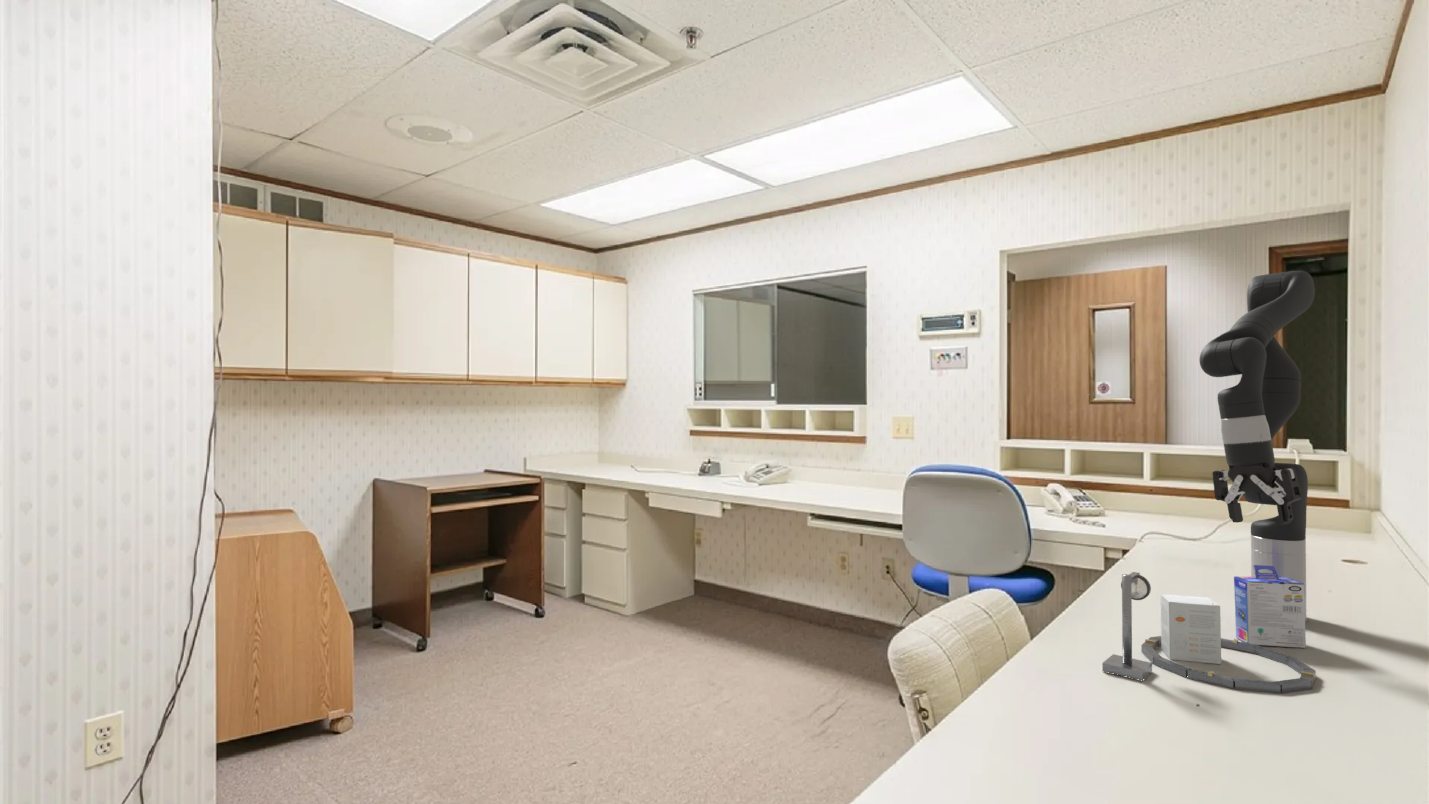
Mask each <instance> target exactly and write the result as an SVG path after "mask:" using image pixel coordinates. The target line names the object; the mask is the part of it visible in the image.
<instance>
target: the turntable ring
mask: <svg viewBox="0 0 1429 804" xmlns="http://www.w3.org/2000/svg"><path fill="white" fill-rule="evenodd" d="M1160 646H1161V635H1156V636H1150V637H1149V638H1148V639H1147V638H1146V639H1145V641H1144V642H1143V643H1142V644H1141V653H1142V654H1143V655H1144V656H1145V657H1146V658H1147V659H1148V660H1149V661H1150V663H1152V665H1154V664H1155V665H1154V666H1157V667H1159V668H1162V667H1163V668H1162V669H1164V670H1166V669H1167V671H1169V670H1170V671H1169V672H1171V671H1172V672H1171V673H1174V674H1176V673H1178V674H1177V675H1179V674H1180V675H1179V676H1181V675H1182V676H1181V677H1183V676H1185V677H1184V678H1186V677H1187V676H1188V677H1187V679H1190V678H1191V680H1194V679H1196V680H1195V681H1199V682H1202V683H1208V684H1212V685H1215V684H1216V686H1220V687H1224V688H1228V689H1229V688H1230V689H1235V690H1243V691H1252V692H1253V691H1255V692H1265V693H1275V694H1285V693H1292V692H1300V691H1307V690H1312V689H1313V687H1314V684H1315V681H1316V680H1317V679H1316V678H1317V673H1316V671H1317V670H1315V669H1314V668H1312V667H1310V666H1309V665H1307V664H1306V663H1304V662H1303V661H1302V660H1300V659H1298V658H1297V657H1295V656H1292V655H1290V654H1289V655H1288V654H1286V653H1282V652H1280V651H1277V650H1273V649H1270V648H1268V647H1264V646H1263V645H1254V644H1249V643H1245V642H1243V641H1239V639H1238V638H1234V639H1233V640H1232V639H1228V638H1223V637H1221V648H1224V649H1225V648H1226V649H1229V650H1230V649H1231V650H1235V651H1241V652H1246V653H1249V654H1250V653H1252V654H1254V655H1255V654H1256V655H1259V656H1260V657H1265V658H1267V659H1270V660H1273V661H1276V662H1279V663H1281V664H1284V665H1287V666H1288V667H1290V668H1291V669H1293V670H1294V671H1295V672H1297V673H1298V674H1300V677H1298V678H1292V679H1284V680H1277V681H1269V680H1261V679H1260V680H1258V679H1248V678H1247V679H1246V678H1236V677H1228V676H1225V675H1220V674H1215V672H1214V671H1208V672H1207V671H1203V670H1197V669H1194V668H1191V667H1188V666H1185V665H1184V664H1183V665H1182V664H1180V663H1178V662H1176V661H1174V660H1171V659H1168V658H1165V657H1163V656H1162V655H1160V654H1159V653H1158V652H1157V651H1156V649H1158V647H1160ZM1161 647H1162V646H1161Z"/></svg>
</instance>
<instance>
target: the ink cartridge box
mask: <svg viewBox="0 0 1429 804" xmlns="http://www.w3.org/2000/svg"><path fill="white" fill-rule="evenodd" d="M1261 569H1268V570H1271V571H1272V572H1273V573H1259V572H1258V570H1261ZM1254 571H1255V575H1256V577H1251V576H1237V575H1236V576H1233V584H1234V586H1233V589H1234V606H1235V609H1234V610H1235V613H1234V615H1235V638H1236V639H1237V640H1240V642H1244V643H1249V644H1254V645H1257V646H1258V645H1259V646H1269V647H1282V648H1283V647H1286V648H1300V649H1301V648H1303V649H1305V648H1306V647H1307V643H1306V642H1307V641H1306V639H1307V638H1306V635H1307V634H1306V621H1305V585H1304V583H1301V582H1298V581H1296V580H1293V579H1291V578H1278V575H1277V572H1276V570H1275V567H1274V566H1262V565H1254Z"/></svg>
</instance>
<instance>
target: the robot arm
mask: <svg viewBox="0 0 1429 804" xmlns="http://www.w3.org/2000/svg"><path fill="white" fill-rule="evenodd" d="M1315 295H1316V288H1315V283H1314V279H1313V277H1312V275H1311V274H1310V273H1309V272H1307V271H1304V270H1290V271H1283V272H1282V271H1281V272H1274V273H1273V272H1272V273H1266V274H1261V275H1260V274H1259V275H1257V276H1254V277H1252V278H1251V280H1250V281H1249V283H1248V286H1247V292H1246V305H1247V309H1246V310H1247V313H1245V314H1243V315H1242V316H1241V317H1239V318H1238V320H1237V321H1235V323H1234V324H1233V325H1232V326H1231V328H1230V329H1229V330H1227V331H1226V332H1224V333H1221V334H1220V335H1219V336H1217V337H1215V338H1214V339H1212V340H1210V341H1209V342H1207V344H1206V345H1205V346H1204V347H1203V348H1202V350H1201V352H1200V354H1199V360H1198V361H1199V364H1200V365H1199V366H1200V368H1201V370H1202V371H1203V372H1204V373H1205V374H1206V375H1207V376H1210V377H1212V378H1224V377H1231V376H1240V375H1241V376H1240V377H1241V378H1240V380H1239V382H1238V383H1237V384H1236V385H1233V386H1231V387H1228V388H1225V389H1222V390H1220V391H1219V392H1218V393H1217V402H1218V403H1217V404H1218V410H1219V416H1220V422H1221V423H1220V425H1221V436H1222V437H1221V438H1222V443H1223V448H1224V454H1225V455H1224V456H1225V461H1226V464H1227V465H1228V470H1224V469H1218V470H1214V471H1212V483H1213V491H1214V498H1215V500H1216V501H1222V502H1225V504H1226V505H1227V510H1228V516H1229V519H1230V520H1231V522H1232V523H1241V522H1243V521H1244V517H1243V511H1242V506H1241V505H1242V504H1241V502H1239V501H1240V499H1241V498H1242V496H1243V498H1244V500H1245V502H1246V501H1247V502H1248V503H1249V504H1250V503H1251V504H1255V505H1256V504H1259V505H1267V506H1268V505H1269V506H1276V510H1277V514H1278V515H1276V516H1274V517H1269V518H1265V519H1258V520H1255V521H1252V522H1251V525H1250V561H1251V564H1250V565H1251V567H1250V568H1251V569H1250V570H1251V571H1250V572H1251V576H1250V577H1256V575H1255V571H1254V565H1262V566H1274V567H1275V570H1276V572H1277V575H1278V578H1291V579H1293V580H1296V581H1298V582H1301V583H1304V585H1305V622H1307V550H1306V549H1307V547H1306V546H1307V544H1306V543H1307V542H1306V537H1307V535H1306V534H1307V533H1306V531H1307V505H1308V504H1307V502H1308V491H1309V482H1308V481H1309V480H1308V479H1309V478H1308V474H1307V473H1308V472H1307V471H1306V469H1305V468H1304V467H1303V465H1301V464H1297V463H1290V462H1289V463H1287V462H1286V463H1285V462H1276V458H1275V454H1274V448H1273V442H1272V441H1273V439H1274V437H1275V436H1276V434H1277V433H1278V432H1279V431H1280V430H1281V428H1283V426H1284V425H1285V424H1286V423H1287V422H1288V421H1289V419H1290V418H1291V417H1292V416H1293V415H1294V414H1295V412H1296V411H1297V409H1298V407H1299V406H1300V403H1301V393H1302V392H1301V389H1302V382H1301V381H1302V375H1301V371H1300V369H1299V367H1298V366H1297V364H1296V363H1295V361H1294V360H1293V359H1292V357H1291V356H1290V355H1289V354H1288V353H1287V351H1286V350H1285V349H1284V348H1283V347H1282V346H1281V344H1280V343H1279V341H1278V340H1277V338H1276V335H1277V334H1278V333H1279V331H1281V330H1282V329H1283V328H1284V327H1286V326H1287V325H1288V324H1290V323H1291V322H1292V321H1294V320H1295V319H1296V318H1298V317H1299V316H1301V315H1302V314H1304V313H1305V312H1306V311H1307V310H1308V309H1310V307H1311V306H1312V304H1313V303H1314V300H1315ZM1229 480H1231V481H1232V482H1233V483H1232V484H1231V486H1230V487H1229V484H1228V481H1229ZM1258 572H1259V573H1273V572H1272V571H1271V570H1268V569H1261V570H1258Z"/></svg>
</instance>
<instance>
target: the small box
mask: <svg viewBox="0 0 1429 804" xmlns="http://www.w3.org/2000/svg"><path fill="white" fill-rule="evenodd" d="M1221 626H1222V625H1221V605H1219V604H1218V602H1216V601H1214V600H1213V599H1212V598H1210V597H1207V596H1205V597H1204V596H1192V595H1191V596H1190V595H1179V594H1178V595H1177V594H1175V595H1174V594H1163V593H1162V594H1160V631H1161V632H1160V634H1161V635H1160V636H1161V650H1162V652H1163V653H1164V654H1165V655H1166V656H1167V657H1168V658H1169V660H1170V661H1174V660H1175V661H1182V662H1183V661H1184V662H1191V663H1192V662H1193V663H1204V664H1215V665H1216V664H1217V665H1221V664H1222V647H1221V638H1222V637H1221V636H1222V634H1221V632H1222V631H1221V630H1222V629H1221Z"/></svg>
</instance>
